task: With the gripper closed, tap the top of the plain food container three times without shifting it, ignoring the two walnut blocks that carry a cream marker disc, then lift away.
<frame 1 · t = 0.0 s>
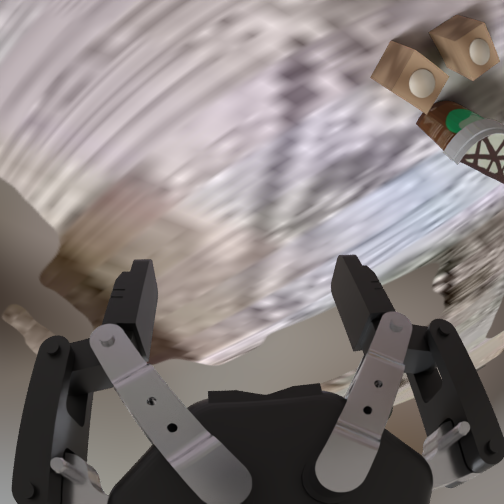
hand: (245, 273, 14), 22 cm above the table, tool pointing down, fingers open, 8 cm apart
marked block b: (451, 40, 24), on the table
marked block a: (397, 69, 27), on the table
food container: (450, 115, 31), on the table
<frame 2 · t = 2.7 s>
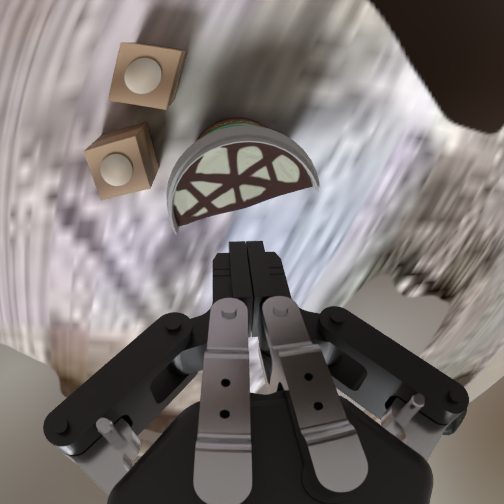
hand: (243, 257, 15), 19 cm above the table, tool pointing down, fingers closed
marked block b: (154, 71, 25), on the table
squash: (437, 397, 79), on the table
marked block a: (130, 151, 29), on the table
food container: (228, 136, 30), on the table
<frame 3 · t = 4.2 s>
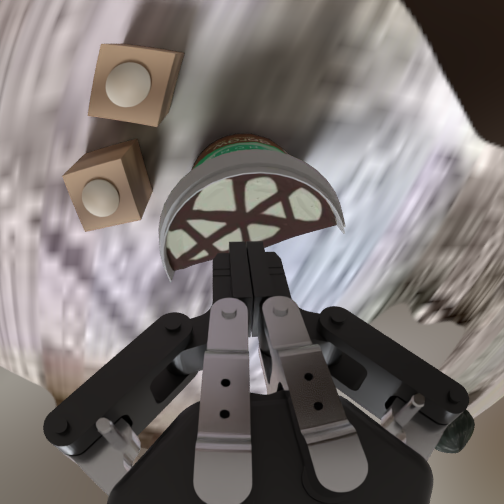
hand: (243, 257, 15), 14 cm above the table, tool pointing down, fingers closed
marked block b: (145, 77, 21), on the table
squash: (444, 414, 74), on the table
marked block a: (118, 171, 25), on the table
food container: (234, 155, 26), on the table
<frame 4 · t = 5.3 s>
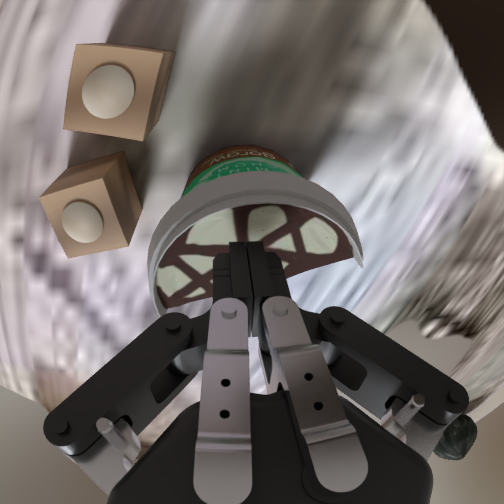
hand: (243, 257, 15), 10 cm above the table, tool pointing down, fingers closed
marked block b: (131, 81, 18), on the table
squash: (447, 420, 72), on the table
marked block a: (104, 188, 22), on the table
food container: (233, 169, 23), on the table
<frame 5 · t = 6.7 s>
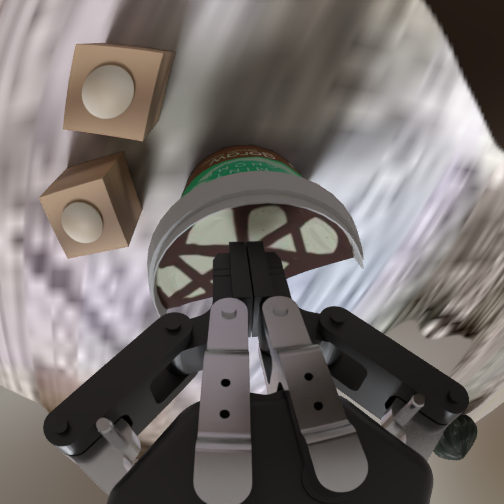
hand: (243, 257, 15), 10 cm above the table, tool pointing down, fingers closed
marked block b: (131, 81, 18), on the table
squash: (447, 420, 72), on the table
marked block a: (104, 188, 22), on the table
food container: (233, 169, 23), on the table
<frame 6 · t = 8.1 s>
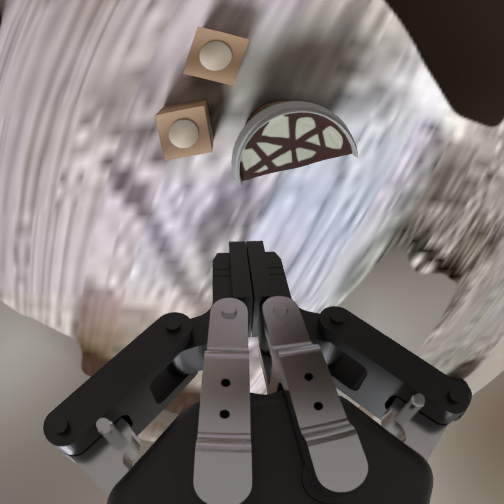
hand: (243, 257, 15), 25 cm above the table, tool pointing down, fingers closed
marked block b: (216, 55, 30), on the table
squash: (443, 384, 83), on the table
marked block a: (188, 122, 34), on the table
food container: (276, 116, 35), on the table
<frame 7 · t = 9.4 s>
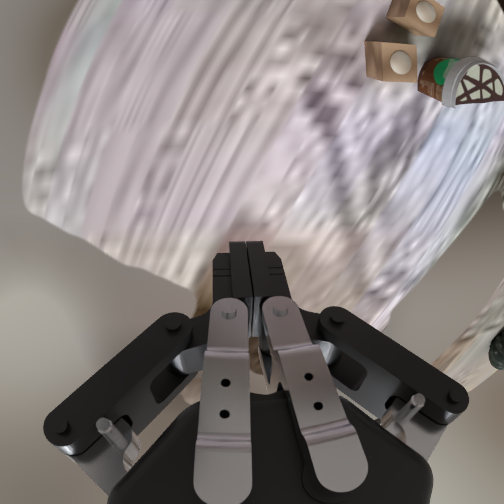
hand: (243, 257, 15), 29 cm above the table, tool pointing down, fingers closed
marked block b: (405, 12, 30), on the table
squash: (499, 337, 83), on the table
marked block a: (381, 59, 34), on the table
food container: (439, 68, 34), on the table
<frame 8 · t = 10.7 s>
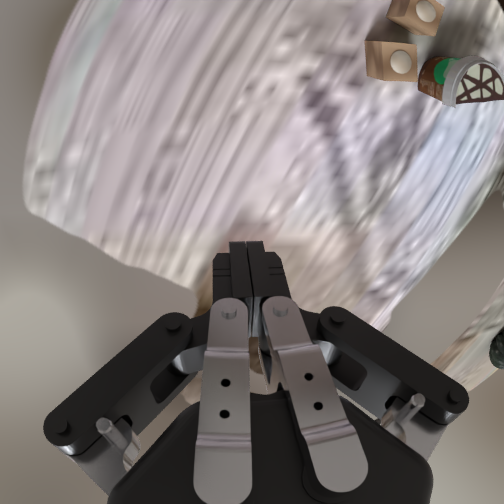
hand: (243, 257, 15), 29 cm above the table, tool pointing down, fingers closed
marked block b: (405, 12, 29), on the table
squash: (499, 337, 83), on the table
marked block a: (382, 58, 34), on the table
food container: (439, 68, 34), on the table
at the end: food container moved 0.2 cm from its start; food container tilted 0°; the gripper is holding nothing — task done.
